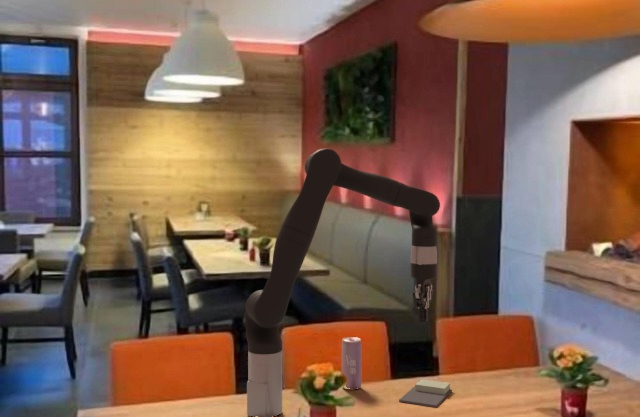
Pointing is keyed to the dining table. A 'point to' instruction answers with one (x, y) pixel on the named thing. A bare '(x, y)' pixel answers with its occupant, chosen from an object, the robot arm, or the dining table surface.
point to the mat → (423, 398)
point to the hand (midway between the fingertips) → (423, 321)
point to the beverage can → (351, 361)
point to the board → (432, 386)
